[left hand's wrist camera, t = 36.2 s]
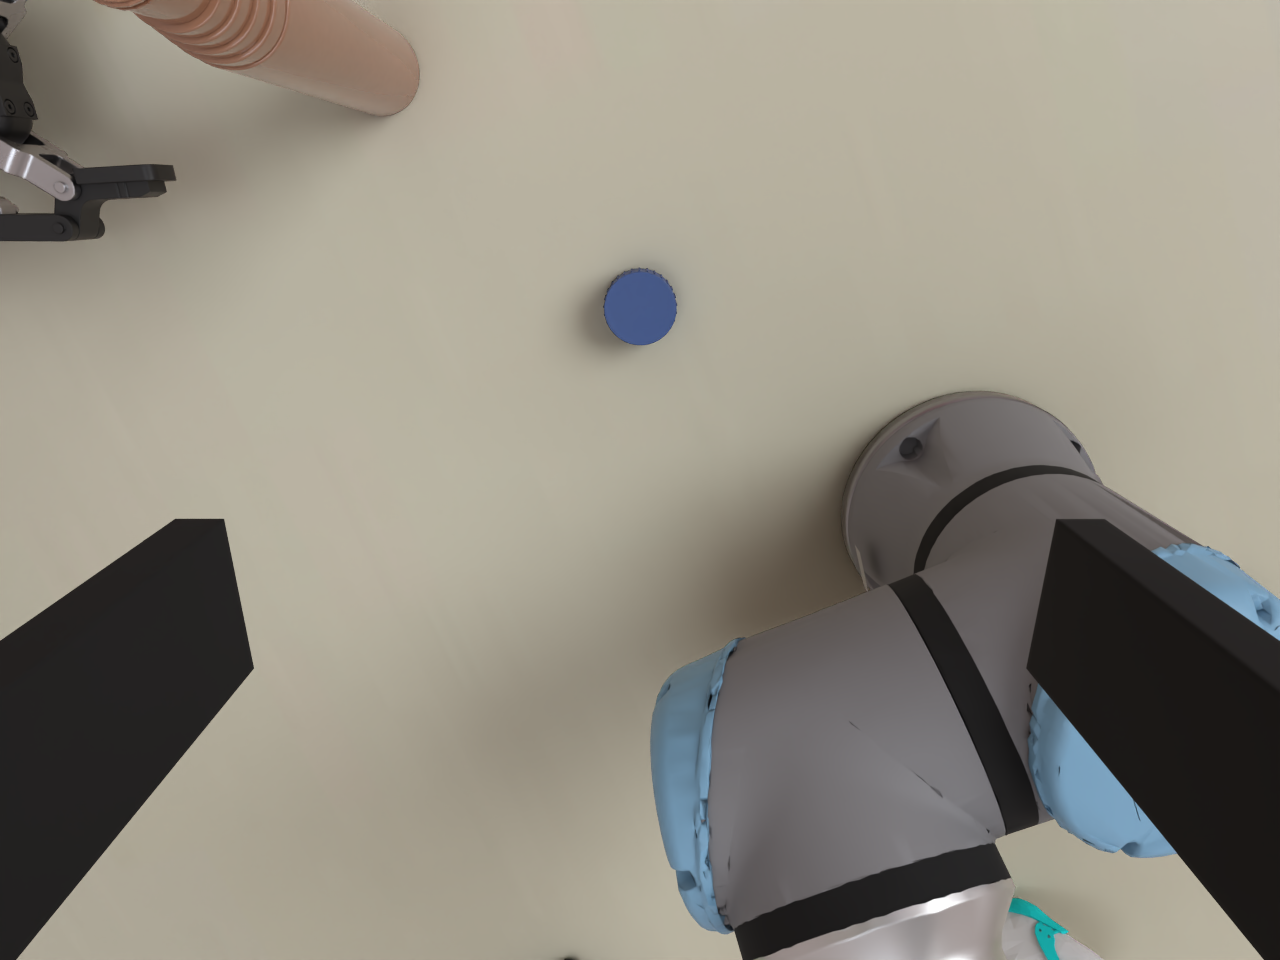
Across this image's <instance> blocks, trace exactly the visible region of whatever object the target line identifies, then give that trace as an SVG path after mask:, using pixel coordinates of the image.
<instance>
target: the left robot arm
mask: <svg viewBox="0 0 1280 960" xmlns="http://www.w3.org/2000/svg"><path fill="white" fill-rule="evenodd" d="M841 524H842V532H843V538H844V542H845V546H846V548H847V551H848V554H849V556H850V558H851V560H852V562H853V564H854V566H855V567H856V569H857V571H858V572H859V574H860V576H861V577H862V580H863V584H864V588H865V589H866V591H867V592H865V593H863V594H860V595H858V596H855V597H853V598H850V599H848V600H845V601H843V602H840V603H838V604H835V605H832V606H830V607H827V608H825V609H822V610H820V611H817V612H815V613H812V614H810V615H807V616H805V617H802V618H799V619H796V620H794V621H791V622H788V623H786V624H783V625H780V626H778V627H775V628H772V629H770V630H767V631H764V632H762V633H759V634H756V635H754V636H751V637H748V638H745V637H744V638H737V639H733V640H732V641H731V642H729V643H728V644H727V645H726V646H725V647H724V648H723V649H721V650H719V651H716V652H714V653H712V654H710V655H708V656H706V657H704V658H701V659H699V660H697V661H695V662H692V663H690V664H688V665H685V666H683V667H682V668H680V669H678V670H677V671H675V672H674V673H673V674H672V675H671V676H670V677H669V678H668V679H667V680H666V681H665V683H664V684H663V686H662V688H661V690H660V693H659V694H658V697H657V701H656V706H655V709H654V712H653V716H652V724H651V739H650V752H651V771H652V781H653V789H654V797H655V803H656V809H657V815H658V820H659V825H660V830H661V835H662V839H663V843H664V847H665V851H666V855H667V858H668V861H669V863H670V866H671V867H672V868H673V869H675V870H676V876H677V882H678V889H679V892H680V894H681V897H682V899H683V901H684V903H685V906H686V908H687V909H688V911H689V913H690V914H691V916H692V917H693V918H694V919H695V921H696V922H697V923H698V924H699V925H700V926H701V927H702V928H704V929H706V930H709V931H717V932H719V933H721V934H729V933H731V932H733V931H735V935H736V938H737V941H738V945H739V948H740V952H741V955H742V959H743V960H1007V958H1006V956H1005V954H1004V952H1003V949H1002V930H1003V927H1004V924H1005V921H1006V917H1007V914H1008V911H1009V907H1010V904H1011V901H1012V898H1013V894H1014V891H1015V888H1016V887H1015V885H1014V882H1013V880H1012V878H1011V876H1010V874H1009V872H1008V870H1007V868H1006V866H1005V864H1004V862H1003V860H1002V858H1001V856H1000V853H999V851H998V849H997V847H996V845H995V839H997V838H999V837H1002V836H1004V835H1007V834H1010V833H1013V832H1016V831H1019V830H1022V829H1025V828H1028V827H1031V826H1035V825H1038V824H1041V823H1044V822H1047V821H1050V820H1052V819H1055V820H1056V821H1057V823H1058V824H1059V826H1060V827H1061V828H1064V829H1066V830H1067V831H1068V833H1071V834H1073V835H1075V836H1076V837H1077V838H1079V839H1080V840H1082V841H1083V842H1085V843H1086V844H1088V845H1090V846H1092V847H1094V848H1096V849H1098V850H1101V851H1105V852H1110V853H1115V852H1117V851H1118V850H1119V849H1121V850H1122V851H1123V852H1124V853H1125V854H1127V855H1129V856H1130V857H1138V858H1153V857H1162V856H1167V855H1172V854H1178V855H1179V856H1180V857H1181V859H1182V860H1183V861H1184V862H1185V864H1186V865H1187V866H1188V867H1189V869H1190V870H1191V871H1192V872H1193V873H1194V875H1195V876H1196V877H1197V878H1198V880H1199V881H1200V882H1201V883H1202V884H1203V886H1204V887H1205V888H1206V889H1207V891H1208V892H1209V893H1210V894H1211V895H1212V897H1213V898H1214V899H1215V900H1216V902H1217V903H1218V904H1219V905H1220V906H1221V908H1222V909H1223V910H1224V911H1225V913H1226V914H1227V915H1228V916H1229V918H1230V919H1231V920H1232V921H1233V922H1234V924H1235V925H1236V926H1237V927H1238V929H1239V930H1240V931H1241V932H1242V933H1243V935H1244V936H1245V937H1246V938H1247V940H1248V941H1249V942H1250V943H1251V944H1252V946H1253V947H1254V948H1255V949H1256V951H1257V952H1258V953H1259V954H1260V955H1261V957H1262V958H1263V959H1264V960H1280V600H1279V599H1278V598H1277V597H1276V596H1274V595H1273V594H1272V593H1270V592H1269V591H1268V590H1267V589H1265V588H1264V587H1263V586H1261V585H1260V584H1259V583H1258V582H1256V581H1255V580H1254V579H1252V578H1251V577H1250V576H1248V575H1247V574H1246V573H1245V572H1244V571H1243V570H1241V569H1240V567H1239V565H1238V564H1237V563H1235V562H1234V561H1232V560H1231V559H1230V558H1229V557H1228V556H1226V555H1224V554H1222V553H1221V552H1219V551H1216V550H1213V549H1211V548H1210V547H1208V546H1207V547H1204V546H1202V545H1201V544H1199V543H1197V542H1196V541H1194V540H1192V539H1191V538H1189V537H1187V536H1186V535H1184V534H1182V533H1181V532H1179V531H1178V530H1176V529H1174V528H1173V527H1171V526H1169V525H1168V524H1166V523H1165V522H1163V521H1161V520H1160V519H1158V518H1156V517H1155V516H1153V515H1152V514H1150V513H1148V512H1147V511H1145V510H1143V509H1142V508H1140V507H1139V506H1137V505H1135V504H1134V503H1132V502H1130V501H1129V500H1127V499H1125V498H1124V497H1122V496H1121V495H1119V494H1117V493H1116V492H1114V491H1112V490H1111V489H1109V488H1107V487H1105V486H1104V485H1103V483H1102V481H1101V480H1100V478H1099V476H1098V475H1097V474H1096V473H1095V470H1094V467H1093V465H1092V462H1091V460H1090V458H1089V456H1088V454H1087V452H1086V451H1085V449H1084V447H1083V446H1082V444H1081V443H1080V442H1079V440H1078V439H1077V438H1076V437H1075V436H1074V434H1073V433H1072V432H1071V431H1070V430H1069V429H1068V428H1067V427H1066V426H1065V425H1064V424H1063V423H1062V422H1061V421H1059V420H1058V419H1057V418H1055V417H1054V416H1053V415H1051V414H1050V413H1048V412H1046V411H1044V410H1042V409H1040V408H1039V407H1037V406H1035V405H1033V404H1031V403H1029V402H1027V401H1025V400H1022V399H1020V398H1017V397H1014V396H1011V395H1007V394H1002V393H996V392H987V391H968V392H960V393H954V394H949V395H945V396H941V397H938V398H935V399H932V400H929V401H927V402H924V403H922V404H920V405H918V406H916V407H914V408H912V409H910V410H908V411H907V412H905V413H903V414H902V415H900V416H899V417H897V418H896V419H895V420H893V421H892V422H891V423H889V424H888V425H887V426H886V427H885V428H884V429H882V430H881V431H880V432H879V433H878V434H877V435H876V436H875V437H874V439H873V440H872V441H871V442H870V443H869V444H868V446H867V447H866V448H865V450H864V451H863V452H862V454H861V455H860V457H859V459H858V460H857V462H856V464H855V466H854V468H853V470H852V472H851V474H850V476H849V479H848V482H847V484H846V488H845V492H844V496H843V502H842V511H841ZM867 586H868V587H869V588H870V589H871V590H870V591H868V588H867ZM253 669H254V666H253V661H252V657H251V652H250V647H249V642H248V637H247V632H246V627H245V622H244V617H243V612H242V607H241V602H240V597H239V592H238V587H237V582H236V577H235V572H234V567H233V562H232V557H231V552H230V547H229V542H228V537H227V532H226V527H225V522H224V519H174V520H173V521H172V522H170V523H169V524H167V525H166V526H164V527H163V528H162V529H160V530H159V531H157V532H156V533H154V534H153V535H152V536H150V537H149V538H147V539H146V540H144V541H143V542H141V543H140V544H139V545H137V546H136V547H134V548H133V549H131V550H130V551H129V552H127V553H126V554H124V555H123V556H121V557H120V558H118V559H117V560H116V561H114V562H113V563H111V564H110V565H108V566H107V567H106V568H104V569H103V570H101V571H100V572H98V573H97V574H95V575H94V576H93V577H91V578H90V579H88V580H87V581H85V582H84V583H83V584H81V585H80V586H78V587H77V588H75V589H74V590H73V591H71V592H70V593H68V594H67V595H65V596H64V597H62V598H61V599H60V600H58V601H57V602H55V603H54V604H52V605H51V606H50V607H48V608H47V609H45V610H44V611H42V612H41V613H39V614H38V615H37V616H35V617H34V618H32V619H31V620H29V621H28V622H27V623H25V624H24V625H22V626H21V627H19V628H18V629H16V630H15V631H14V632H12V633H11V634H9V635H8V636H6V637H5V638H4V639H2V640H1V641H0V960H16V959H17V958H18V957H19V955H20V954H21V953H22V952H23V951H24V949H25V948H26V947H27V946H28V944H29V943H30V942H31V941H32V940H33V938H34V937H35V936H36V935H37V933H38V932H39V931H40V930H41V929H42V927H43V926H44V925H45V924H46V922H47V921H48V920H49V919H50V918H51V916H52V915H53V914H54V913H55V911H56V910H57V909H58V908H59V906H60V905H61V904H62V903H63V902H64V900H65V899H66V898H67V897H68V895H69V894H70V893H71V892H72V891H73V889H74V888H75V887H76V886H77V884H78V883H79V882H80V881H81V880H82V878H83V877H84V876H85V875H86V873H87V872H88V871H89V870H90V869H91V867H92V866H93V865H94V864H95V862H96V861H97V860H98V859H99V857H100V856H101V855H102V854H103V853H104V851H105V850H106V849H107V848H108V846H109V845H110V844H111V843H112V842H113V840H114V839H115V838H116V837H117V835H118V834H119V833H120V832H121V831H122V829H123V828H124V827H125V826H126V824H127V823H128V822H129V821H130V820H131V818H132V817H133V816H134V815H135V813H136V812H137V811H138V810H139V809H140V807H141V806H142V805H143V804H144V802H145V801H146V800H147V799H148V797H149V796H150V795H151V794H152V793H153V791H154V790H155V789H156V788H157V786H158V785H159V784H160V783H161V782H162V780H163V779H164V778H165V777H166V775H167V774H168V773H169V772H170V771H171V769H172V768H173V767H174V766H175V764H176V763H177V762H178V761H179V760H180V758H181V757H182V756H183V755H184V753H185V752H186V751H187V750H188V748H189V747H190V746H191V745H192V744H193V742H194V741H195V740H196V739H197V737H198V736H199V735H200V734H201V733H202V731H203V730H204V729H205V728H206V726H207V725H208V724H209V723H210V722H211V720H212V719H213V718H214V717H215V715H216V714H217V713H218V712H219V711H220V709H221V708H222V707H223V706H224V704H225V703H226V702H227V701H228V699H229V698H230V697H231V696H232V695H233V693H234V692H235V691H236V690H237V688H238V687H239V686H240V685H241V684H242V682H243V681H244V680H245V679H246V677H247V676H248V675H249V674H250V673H251V671H252V670H253Z"/></svg>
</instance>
